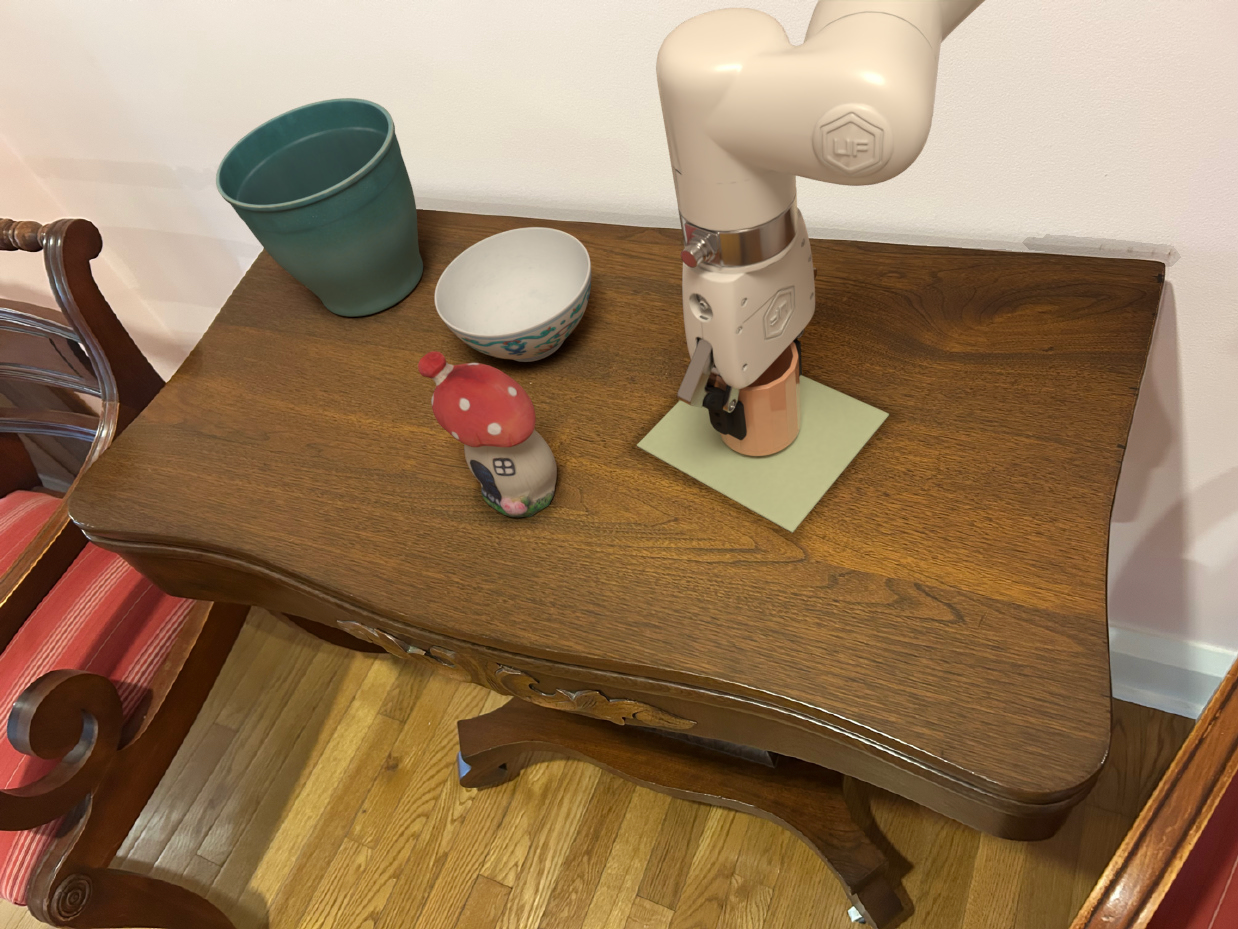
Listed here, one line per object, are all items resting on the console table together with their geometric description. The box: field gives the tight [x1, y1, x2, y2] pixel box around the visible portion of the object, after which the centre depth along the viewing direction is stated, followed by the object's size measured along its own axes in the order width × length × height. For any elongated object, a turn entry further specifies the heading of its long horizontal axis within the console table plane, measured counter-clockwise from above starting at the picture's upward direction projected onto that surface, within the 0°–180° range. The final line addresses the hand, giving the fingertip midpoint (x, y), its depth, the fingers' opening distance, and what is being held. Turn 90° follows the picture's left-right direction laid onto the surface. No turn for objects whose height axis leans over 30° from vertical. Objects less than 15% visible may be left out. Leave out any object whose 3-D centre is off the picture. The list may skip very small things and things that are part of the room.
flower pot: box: [215, 97, 424, 318], centre depth 89 cm, size 18×18×17 cm
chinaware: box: [434, 226, 592, 363], centre depth 82 cm, size 15×15×8 cm
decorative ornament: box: [417, 350, 558, 518], centre depth 68 cm, size 9×7×15 cm
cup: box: [715, 341, 801, 456], centre depth 69 cm, size 7×7×8 cm
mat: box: [636, 374, 890, 534], centre depth 72 cm, size 16×14×1 cm
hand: (756, 399), depth 69 cm, fingers closed on cup, 6 cm apart
